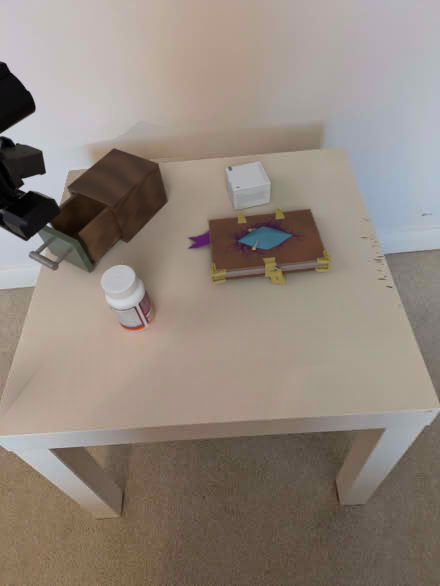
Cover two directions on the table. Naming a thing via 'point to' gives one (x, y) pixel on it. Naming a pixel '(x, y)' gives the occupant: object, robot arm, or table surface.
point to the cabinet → (124, 189)
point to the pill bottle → (127, 298)
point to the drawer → (78, 234)
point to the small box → (248, 185)
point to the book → (264, 246)
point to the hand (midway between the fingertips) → (27, 238)
